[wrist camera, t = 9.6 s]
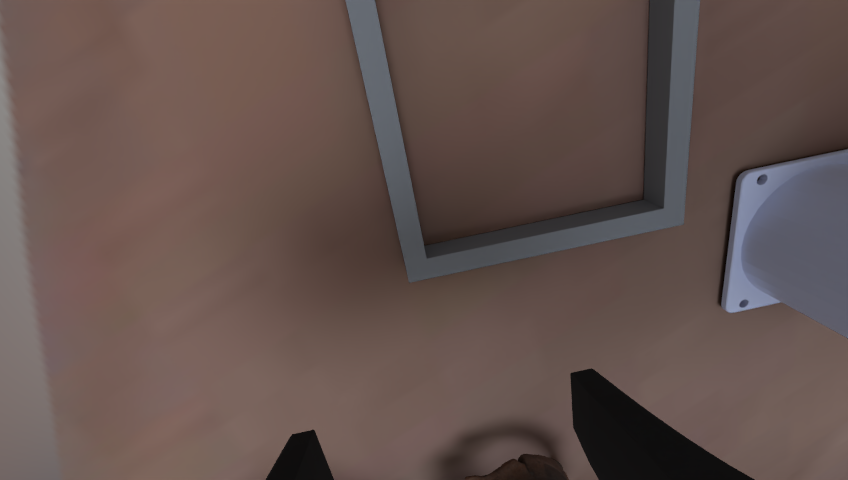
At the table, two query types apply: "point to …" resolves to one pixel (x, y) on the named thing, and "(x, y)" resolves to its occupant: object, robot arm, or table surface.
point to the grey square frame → (659, 210)
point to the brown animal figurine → (526, 470)
